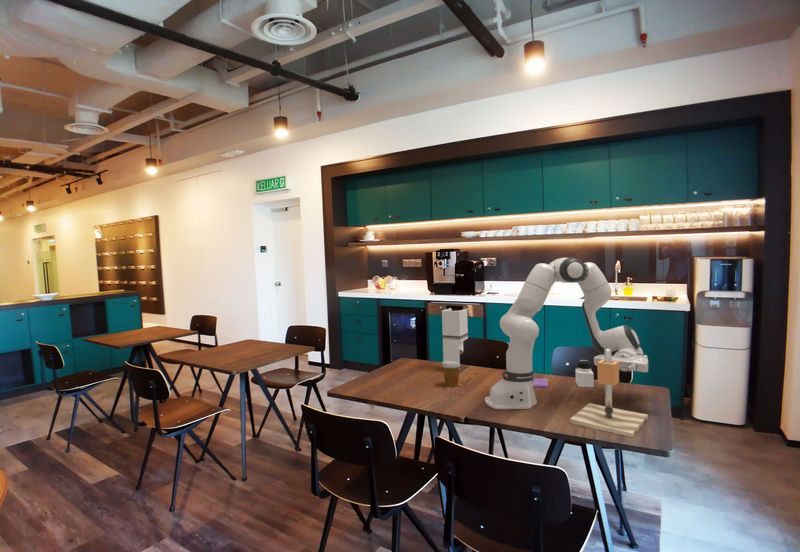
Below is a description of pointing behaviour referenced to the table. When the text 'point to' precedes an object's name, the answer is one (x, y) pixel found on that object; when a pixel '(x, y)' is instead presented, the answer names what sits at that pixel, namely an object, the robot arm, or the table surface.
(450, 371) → the disposable coffee cup
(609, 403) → the steel pipe
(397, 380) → the table surface
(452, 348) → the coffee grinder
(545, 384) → the sponges
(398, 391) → the table surface
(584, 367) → the medicine bottle
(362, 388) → the table surface
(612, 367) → the sleeve
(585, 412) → the pipe stand
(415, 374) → the table surface
